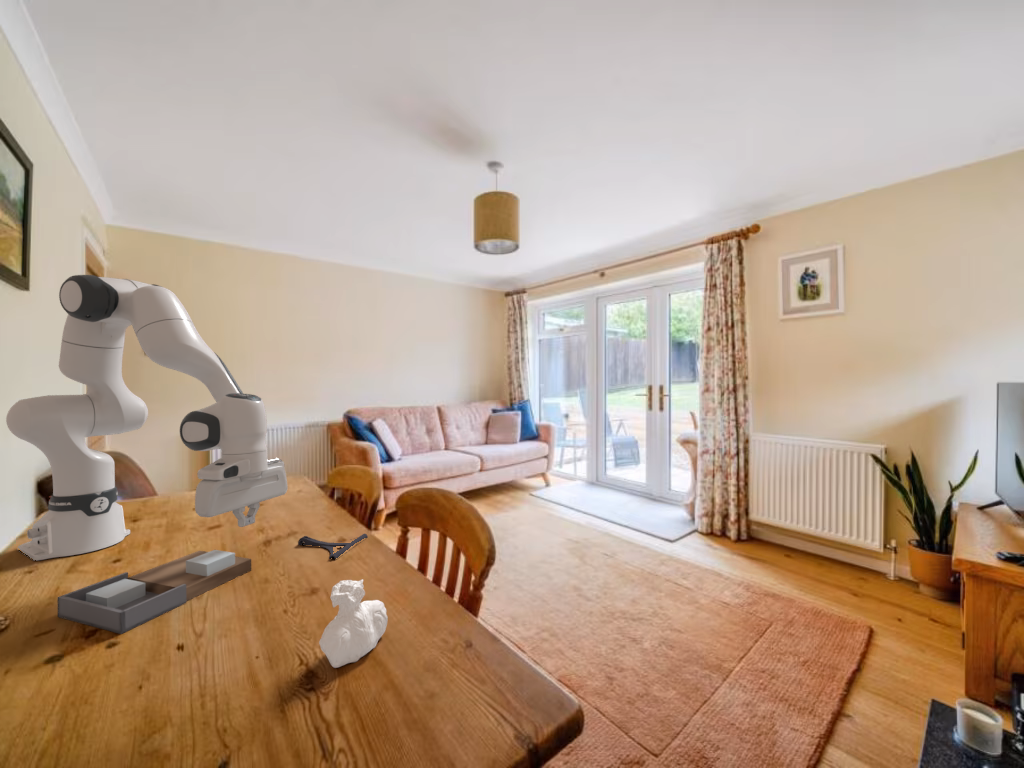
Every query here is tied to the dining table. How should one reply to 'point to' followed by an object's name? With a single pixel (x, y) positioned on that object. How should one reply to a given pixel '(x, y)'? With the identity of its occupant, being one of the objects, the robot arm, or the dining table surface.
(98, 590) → the tile
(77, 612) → the tray
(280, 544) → the dining table surface
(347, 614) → the bust
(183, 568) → the board
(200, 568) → the tile
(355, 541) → the bracket
